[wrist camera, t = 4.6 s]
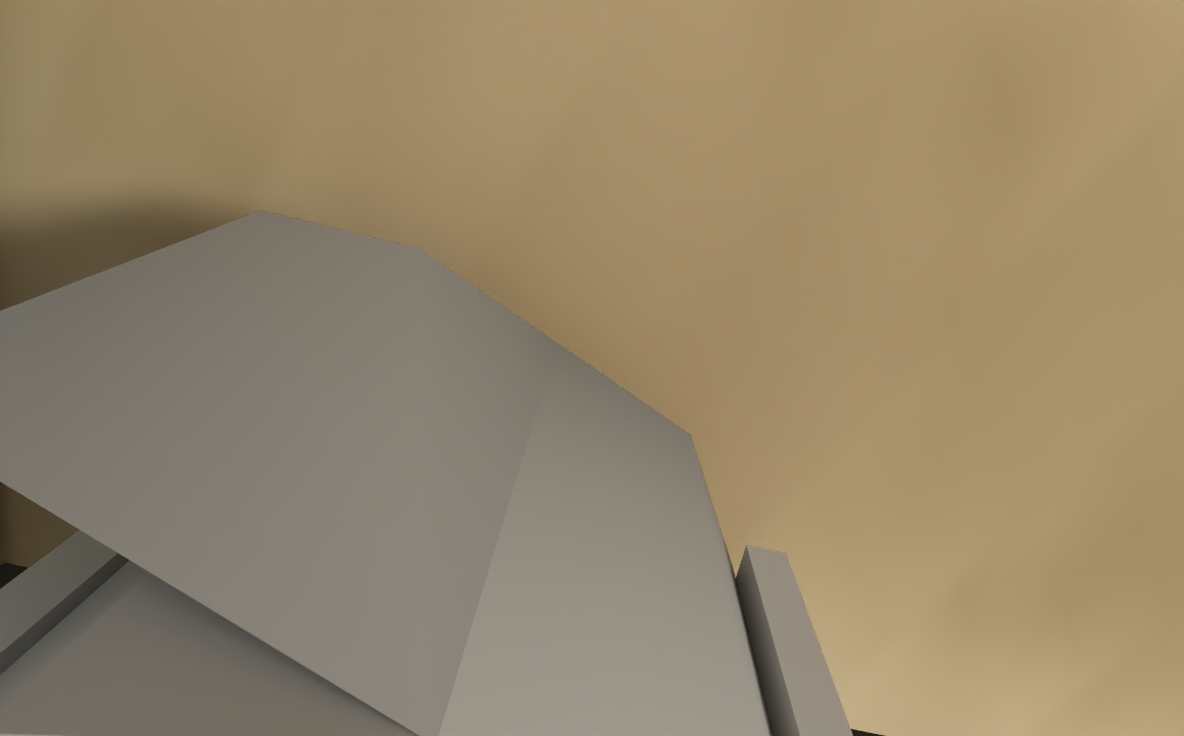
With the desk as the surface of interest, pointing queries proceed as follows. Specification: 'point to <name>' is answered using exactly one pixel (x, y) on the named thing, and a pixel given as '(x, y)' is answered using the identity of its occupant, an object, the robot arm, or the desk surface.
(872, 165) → the desk surface
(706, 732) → the toilet tissue
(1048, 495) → the desk surface
